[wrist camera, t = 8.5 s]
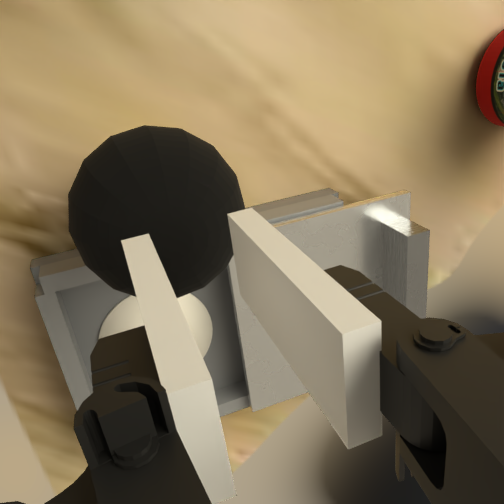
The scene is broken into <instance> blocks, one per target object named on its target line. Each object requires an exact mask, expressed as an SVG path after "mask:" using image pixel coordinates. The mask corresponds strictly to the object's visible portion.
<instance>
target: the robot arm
mask: <svg viewBox="0 0 504 504" xmlns="http://www.w3.org/2000/svg"><path fill="white" fill-rule="evenodd" d="M227 216H228V222H229V228H230V234H231V240H232V247H233V253H234V259H235V265H236V271H237V277H238V284H239V290H240V295H241V296H242V298H243V299H244V301H245V302H246V303H247V305H248V306H249V308H250V309H251V311H252V312H253V314H254V315H255V316H256V318H257V319H258V321H259V322H260V324H261V325H262V326H263V328H264V329H265V331H266V332H267V334H268V335H269V336H270V338H271V339H272V341H273V342H274V344H275V345H276V346H277V348H278V349H279V351H280V352H281V354H282V355H283V357H284V358H285V359H286V361H287V362H288V364H289V365H290V367H291V368H292V369H293V371H294V372H295V374H296V375H297V377H298V378H299V379H300V381H301V382H302V384H303V385H304V387H305V388H306V389H307V391H308V392H309V394H310V395H311V397H312V398H313V400H314V401H315V402H316V404H317V405H318V407H319V408H320V410H321V411H322V412H323V414H324V415H325V417H326V418H327V420H328V421H329V422H330V424H331V425H332V427H333V428H334V430H335V431H336V432H337V434H338V435H339V437H340V438H341V440H342V441H343V443H344V444H345V445H346V447H347V448H348V449H351V448H353V447H355V446H358V445H360V444H363V443H365V442H367V441H370V440H372V439H375V438H377V437H380V436H382V413H383V415H384V416H385V417H386V418H387V419H388V420H389V422H391V424H392V425H393V426H394V427H395V429H396V447H395V454H396V455H395V472H396V474H397V477H398V480H399V481H403V480H404V476H405V463H406V465H407V466H408V468H409V469H410V471H411V476H412V477H415V478H416V480H417V482H418V483H419V485H420V486H421V488H422V489H423V491H424V493H425V494H426V496H427V497H428V499H429V500H430V502H431V503H432V504H504V332H503V333H494V334H484V335H473V334H472V333H471V332H470V331H468V330H467V329H465V328H464V327H462V326H461V325H459V324H457V323H454V322H451V321H448V320H445V319H437V318H423V319H421V318H419V317H418V316H417V315H415V314H414V313H413V312H411V311H410V310H409V309H408V308H406V307H405V306H404V305H402V304H401V303H400V302H398V301H397V300H396V299H395V298H393V297H392V296H391V295H389V294H388V293H387V292H383V289H382V288H380V287H379V286H378V285H376V284H375V283H374V284H373V283H372V281H371V280H370V279H369V278H367V277H366V276H365V275H363V274H362V273H361V272H360V271H357V270H354V269H351V268H348V267H345V266H342V265H339V266H335V267H332V268H329V269H325V270H323V269H321V268H320V267H319V266H318V265H317V264H316V263H315V262H313V261H312V260H311V259H310V258H309V257H308V256H307V255H305V254H304V253H303V252H302V251H301V250H300V249H299V248H297V247H296V246H295V245H294V244H293V243H292V242H290V241H289V240H288V239H287V238H286V237H285V236H284V235H282V234H281V233H280V232H279V231H278V230H277V229H276V228H274V227H273V226H272V225H271V224H270V223H269V222H268V221H266V220H265V219H264V218H263V217H262V216H261V215H260V214H258V213H257V212H256V211H255V210H254V209H253V208H249V209H245V210H241V211H237V212H233V213H229V214H227ZM121 242H122V246H123V250H124V253H125V257H126V260H127V264H128V268H129V271H130V275H131V279H132V282H133V286H134V289H135V293H136V297H137V300H138V304H139V308H140V311H141V315H142V318H143V322H144V325H143V326H140V327H137V328H133V329H130V330H127V331H123V332H120V333H117V334H113V335H110V336H107V337H103V338H100V339H98V341H97V343H96V345H95V347H94V349H93V351H92V353H91V355H90V362H91V372H92V386H93V388H92V389H93V393H92V394H91V395H90V396H89V397H87V398H86V399H85V400H84V401H83V402H82V404H81V406H80V407H79V409H78V411H77V412H76V414H75V418H74V431H75V433H76V436H77V438H78V441H79V443H80V446H81V448H82V450H83V453H84V455H85V458H86V460H87V463H88V467H87V468H86V470H85V471H84V472H83V474H82V475H81V476H80V477H79V478H78V479H77V480H76V481H75V482H74V483H73V484H72V485H70V486H69V487H68V488H66V489H65V490H64V491H63V492H61V493H60V494H58V495H57V496H55V497H54V498H52V499H51V500H49V501H48V502H46V503H45V504H217V503H220V502H222V501H225V500H227V499H230V498H232V497H234V496H237V495H236V490H235V486H234V481H233V476H232V471H231V466H230V462H229V457H228V452H227V448H226V443H225V438H224V433H223V429H222V424H221V419H220V415H219V410H218V405H217V401H216V396H215V391H214V386H213V382H212V378H211V376H210V373H209V371H208V369H207V366H206V364H205V362H204V360H203V357H202V355H201V353H200V350H199V348H198V346H197V343H196V341H195V339H194V337H193V334H192V332H191V330H190V327H189V325H188V323H187V320H186V318H185V316H184V314H183V311H182V309H181V307H180V304H179V302H178V300H177V298H176V295H175V293H174V291H173V288H172V286H171V284H170V281H169V279H168V277H167V275H166V272H165V270H164V268H163V265H162V263H161V261H160V259H159V256H158V254H157V252H156V249H155V247H154V245H153V242H152V240H151V238H150V236H149V234H145V235H141V236H137V237H133V238H129V239H125V240H121ZM0 504H24V503H21V502H18V501H15V502H6V503H0Z"/></svg>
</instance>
